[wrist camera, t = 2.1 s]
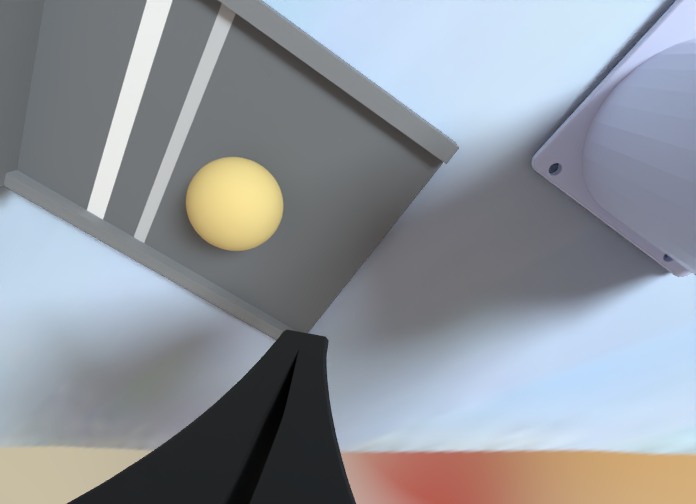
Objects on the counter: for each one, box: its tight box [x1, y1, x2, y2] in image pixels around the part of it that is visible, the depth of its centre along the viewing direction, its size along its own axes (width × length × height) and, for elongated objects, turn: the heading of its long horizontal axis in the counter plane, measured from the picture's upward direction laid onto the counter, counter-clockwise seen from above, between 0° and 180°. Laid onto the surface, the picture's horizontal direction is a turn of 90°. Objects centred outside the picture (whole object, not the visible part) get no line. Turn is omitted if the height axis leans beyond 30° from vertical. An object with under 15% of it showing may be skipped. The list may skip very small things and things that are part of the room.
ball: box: [186, 157, 283, 251], centre depth 16 cm, size 4×4×4 cm
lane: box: [0, 0, 459, 340], centre depth 17 cm, size 18×14×2 cm
